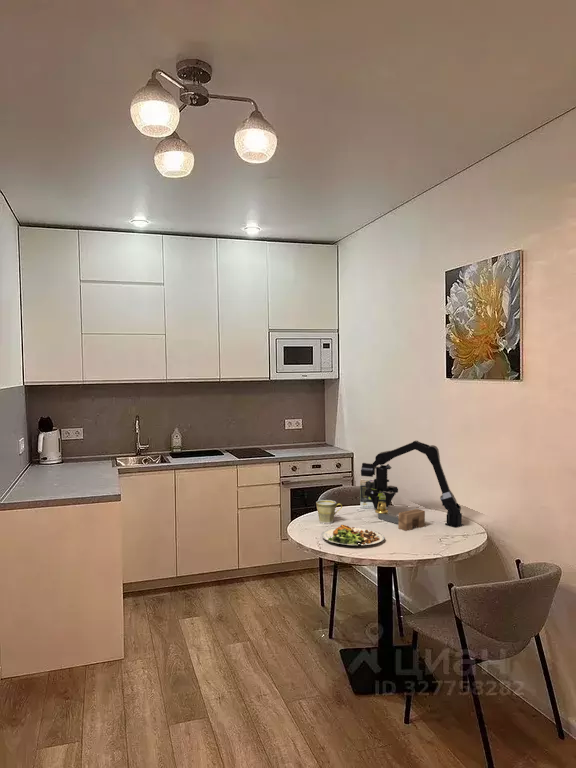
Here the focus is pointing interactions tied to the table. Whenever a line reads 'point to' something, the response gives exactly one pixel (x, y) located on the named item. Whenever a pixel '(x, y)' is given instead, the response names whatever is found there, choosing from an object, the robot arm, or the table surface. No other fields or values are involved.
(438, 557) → the table surface
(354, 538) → the plate of food
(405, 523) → the block
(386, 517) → the grey sliding bolt
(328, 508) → the ceramic cup
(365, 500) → the tea box
